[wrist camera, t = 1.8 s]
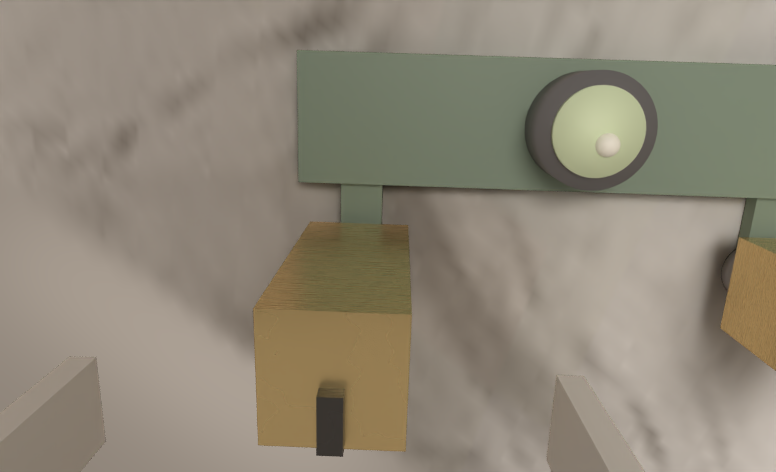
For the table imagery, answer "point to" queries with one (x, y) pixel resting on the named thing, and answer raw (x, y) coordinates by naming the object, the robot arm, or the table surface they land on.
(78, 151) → the table surface
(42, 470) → the robot arm
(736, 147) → the base plate
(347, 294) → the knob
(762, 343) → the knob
